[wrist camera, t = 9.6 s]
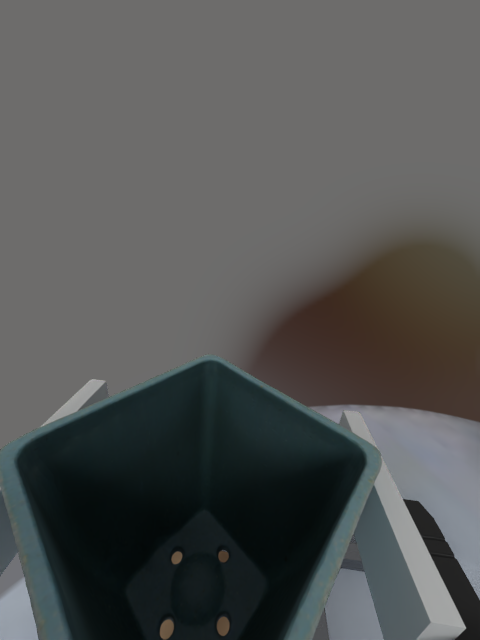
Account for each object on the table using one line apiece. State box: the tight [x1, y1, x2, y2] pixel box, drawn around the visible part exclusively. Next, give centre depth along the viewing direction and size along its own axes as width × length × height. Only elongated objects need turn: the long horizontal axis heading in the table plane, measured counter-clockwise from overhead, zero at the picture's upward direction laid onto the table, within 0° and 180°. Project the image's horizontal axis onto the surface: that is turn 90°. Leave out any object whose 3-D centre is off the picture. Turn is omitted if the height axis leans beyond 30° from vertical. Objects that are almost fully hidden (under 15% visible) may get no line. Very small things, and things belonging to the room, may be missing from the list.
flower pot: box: [0, 354, 382, 640], centre depth 9 cm, size 9×9×9 cm
